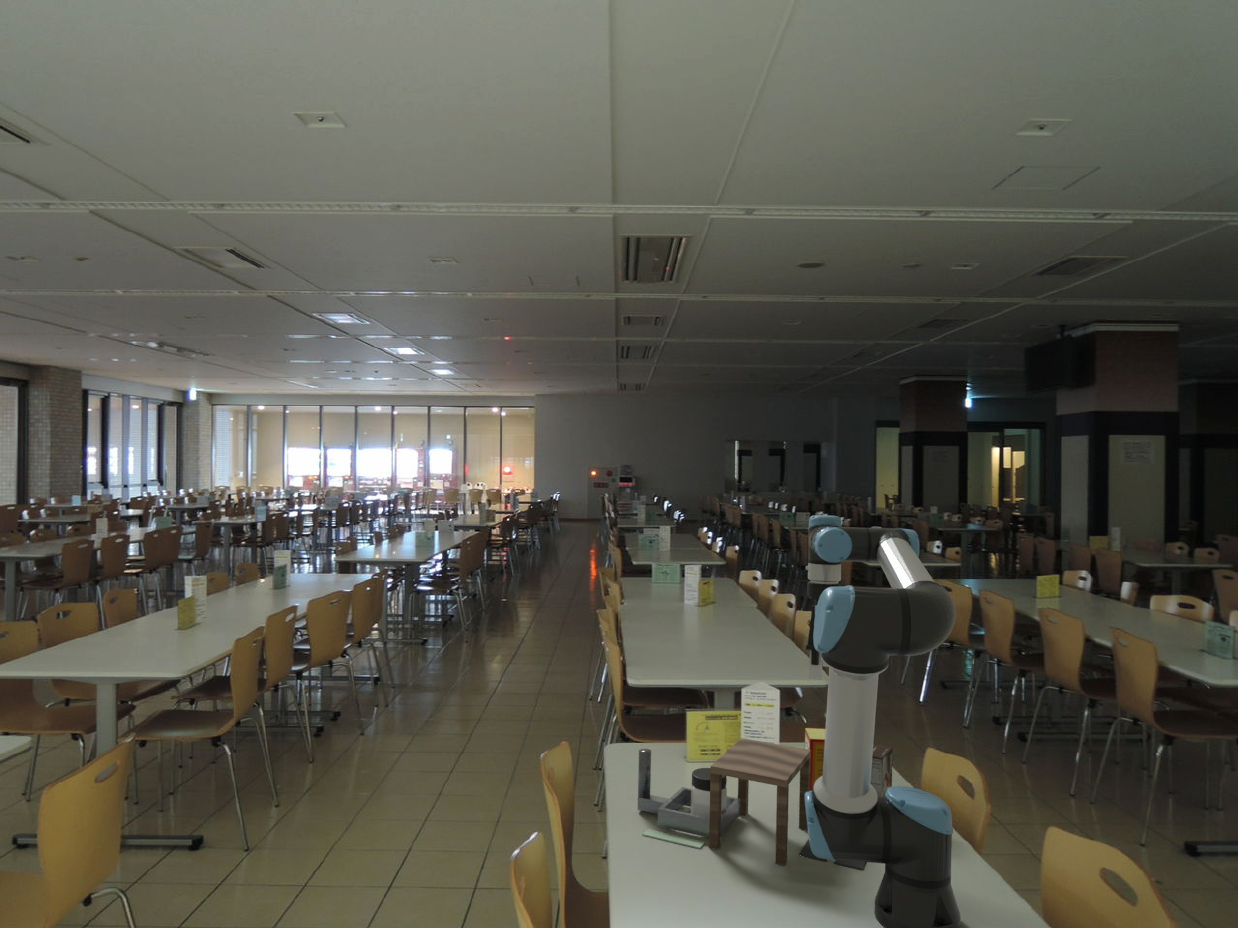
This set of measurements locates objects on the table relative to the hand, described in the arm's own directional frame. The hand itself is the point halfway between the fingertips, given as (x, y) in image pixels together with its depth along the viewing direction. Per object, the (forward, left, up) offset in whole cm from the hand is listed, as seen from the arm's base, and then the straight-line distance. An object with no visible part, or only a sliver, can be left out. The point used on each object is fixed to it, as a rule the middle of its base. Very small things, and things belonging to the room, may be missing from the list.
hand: (822, 672), depth 193 cm
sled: (-10, +30, -36) cm, 48 cm away
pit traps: (-10, -6, -37) cm, 38 cm away
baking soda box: (+22, +5, -37) cm, 43 cm away
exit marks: (-10, +28, -37) cm, 47 cm away
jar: (-10, +24, -37) cm, 45 cm away
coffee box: (+15, -10, -37) cm, 41 cm away
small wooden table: (-10, +11, -37) cm, 40 cm away
